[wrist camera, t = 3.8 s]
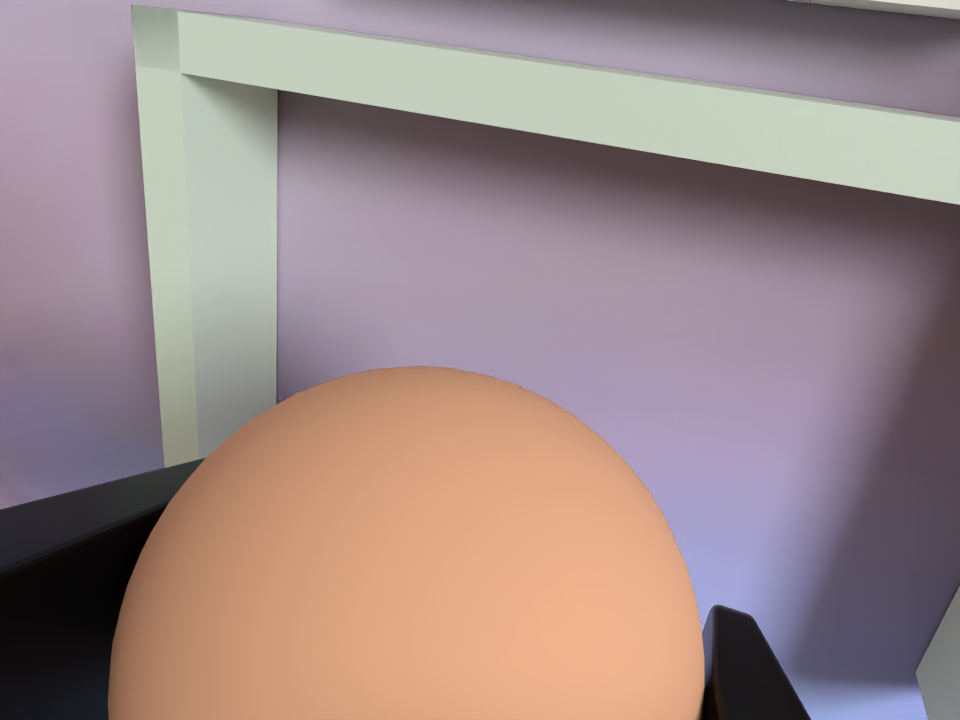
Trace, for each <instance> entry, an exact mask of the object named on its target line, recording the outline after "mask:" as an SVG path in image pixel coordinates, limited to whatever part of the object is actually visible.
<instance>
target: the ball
mask: <svg viewBox="0 0 960 720" xmlns="http://www.w3.org/2000/svg"><path fill="white" fill-rule="evenodd" d="M704 688H705V672H704V648H703V639H702V630H701V622H700V617H699V613H698V608H697V603H696V598H695V594H694V591H693V587H692V583H691V580H690V576H689V572H688V569H687V566H686V563H685V561H684V559H683V557H682V554H681V552H680V550H679V547H678V545H677V543H676V540H675V538H674V536H673V534H672V531H671V529H670V527H669V525H668V523H667V520H666V518H665V517H664V515H663V513H662V512H661V510H660V508H659V507H658V505H657V503H656V502H655V500H654V498H653V497H652V495H651V493H650V492H649V490H648V489H647V488H646V486H645V485H644V484H643V483H642V481H641V480H640V479H639V478H638V476H637V475H636V474H635V473H634V471H633V470H632V469H631V467H630V466H629V465H628V464H627V463H626V462H625V461H624V459H623V458H622V457H621V456H620V455H619V454H618V453H617V452H616V451H615V450H614V449H613V448H612V447H611V446H610V445H609V444H608V443H607V442H606V441H605V440H604V439H603V438H602V437H601V436H600V435H599V434H597V433H596V432H595V431H593V430H592V429H591V428H590V427H588V426H587V425H586V424H585V423H583V422H582V421H581V420H579V419H578V418H577V417H576V416H574V415H573V414H571V413H570V412H568V411H566V410H565V409H563V408H561V407H560V406H558V405H557V404H555V403H553V402H552V401H550V400H548V399H547V398H544V397H542V396H540V395H538V394H536V393H534V392H531V391H529V390H527V389H525V388H523V387H521V386H518V385H515V384H512V383H509V382H506V381H503V380H500V379H497V378H494V377H491V376H487V375H483V374H478V373H473V372H468V371H463V370H458V369H453V368H442V367H428V366H414V367H398V368H386V369H375V370H370V371H365V372H360V373H355V374H351V375H346V376H343V377H340V378H337V379H334V380H331V381H328V382H325V383H322V384H319V385H317V386H314V387H312V388H309V389H306V390H304V391H301V392H298V393H296V394H294V395H293V396H291V397H289V398H287V399H286V400H284V401H282V402H280V403H279V404H277V405H275V406H273V407H272V408H270V409H268V410H267V411H265V412H263V413H262V414H260V415H258V416H256V417H255V418H253V419H251V420H250V421H248V422H247V423H246V424H245V425H244V426H242V427H241V428H240V429H239V430H238V431H236V432H235V433H234V434H233V435H232V436H230V437H229V438H228V439H227V440H226V441H225V442H223V443H222V444H221V445H220V446H219V447H218V448H217V449H215V450H214V451H213V452H212V453H211V454H210V455H208V456H207V457H206V458H205V459H204V461H203V462H202V463H201V464H200V465H199V466H198V468H197V469H196V470H195V471H194V472H193V473H192V475H191V476H190V477H189V478H188V479H187V481H186V482H185V483H184V484H183V485H182V487H181V488H180V489H179V491H178V492H177V493H176V494H175V496H174V497H173V498H172V499H171V501H170V502H169V504H168V505H167V507H166V509H165V510H164V512H163V514H162V515H161V517H160V518H159V520H158V522H157V523H156V525H155V527H154V528H153V530H152V532H151V534H150V536H149V538H148V540H147V541H146V543H145V545H144V547H143V549H142V551H141V553H140V556H139V558H138V561H137V563H136V566H135V568H134V570H133V573H132V575H131V578H130V580H129V583H128V585H127V588H126V592H125V595H124V599H123V602H122V605H121V609H120V613H119V618H118V622H117V626H116V630H115V635H114V639H113V643H112V653H111V662H110V675H109V690H108V716H109V720H702V718H703V704H704Z"/></svg>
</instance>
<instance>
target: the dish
mask: <svg viewBox="0 0 960 720" xmlns="http://www.w3.org/2000/svg"><path fill="white" fill-rule="evenodd" d="M787 1H796V2H805V3H814V4H824V5H833V6H842V7H851V8H861V9H870V10H879V11H888V12H897V13H907V14H916V15H925V16H934V17H943V18H953V19H960V0H787Z"/></svg>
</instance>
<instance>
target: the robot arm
mask: <svg viewBox="0 0 960 720" xmlns="http://www.w3.org/2000/svg"><path fill="white" fill-rule="evenodd" d="M204 459H205V458H202V459H198V460H194V461H190V462H186V463H182V464H178V465H174V466H170V467H166V468H162V469H158V470H154V471H150V472H147V473H143V474H139V475H135V476H131V477H127V478H123V479H119V480H115V481H111V482H107V483H103V484H99V485H95V486H91V487H87V488H83V489H80V490H76V491H72V492H68V493H64V494H60V495H56V496H52V497H48V498H44V499H40V500H36V501H32V502H28V503H24V504H20V505H16V506H13V507H9V508H5V509H1V510H0V720H109V716H108V690H109V675H110V662H111V653H112V643H113V639H114V635H115V630H116V626H117V622H118V618H119V613H120V609H121V605H122V602H123V599H124V595H125V592H126V588H127V585H128V583H129V580H130V578H131V575H132V573H133V570H134V568H135V566H136V563H137V561H138V558H139V556H140V553H141V551H142V549H143V547H144V545H145V543H146V541H147V540H148V538H149V536H150V534H151V532H152V530H153V528H154V527H155V525H156V523H157V522H158V520H159V518H160V517H161V515H162V514H163V512H164V510H165V509H166V507H167V505H168V504H169V502H170V501H171V499H172V498H173V497H174V496H175V494H176V493H177V492H178V491H179V489H180V488H181V487H182V485H183V484H184V483H185V482H186V481H187V479H188V478H189V477H190V476H191V475H192V473H193V472H194V471H195V470H196V469H197V468H198V466H199V465H200V464H201V463H202V462H203V461H204ZM702 639H703V648H704V672H705V688H704V704H703V718H702V720H811V718H810V717H809V715H808V713H807V711H806V710H805V708H804V706H803V704H802V703H801V701H800V699H799V697H798V696H797V694H796V692H795V690H794V688H793V687H792V685H791V683H790V681H789V680H788V678H787V676H786V674H785V673H784V671H783V669H782V667H781V666H780V664H779V662H778V660H777V659H776V657H775V655H774V653H773V651H772V650H771V648H770V646H769V644H768V643H767V641H766V639H765V637H764V636H763V634H762V632H761V630H760V629H759V627H758V625H757V623H756V621H755V620H754V619H753V618H752V617H751V616H750V615H749V614H747V613H744V612H740V611H737V610H734V609H731V608H728V607H725V606H722V605H714V606H713V607H712V608H711V610H710V612H709V615H708V618H707V621H706V624H705V627H704V630H703V633H702Z"/></svg>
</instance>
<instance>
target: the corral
mask: <svg viewBox="0 0 960 720" xmlns="http://www.w3.org/2000/svg"><path fill="white" fill-rule="evenodd" d="M131 14H132V28H133V41H134V55H135V69H136V83H137V97H138V111H139V124H140V138H141V152H142V166H143V180H144V193H145V207H146V221H147V235H148V249H149V263H150V276H151V290H152V304H153V318H154V332H155V346H156V359H157V373H158V387H159V401H160V415H161V428H162V442H163V456H164V468H166V467H170V466H174V465H178V464H182V463H186V462H190V461H194V460H198V459H202V458H206V457H207V456H208V455H210V454H211V453H212V452H213V451H214V450H215V449H217V448H218V447H219V446H220V445H221V444H222V443H223V442H225V441H226V440H227V439H228V438H229V437H230V436H232V435H233V434H234V433H235V432H236V431H238V430H239V429H240V428H241V427H242V426H244V425H245V424H246V423H247V422H248V421H250V420H251V419H253V418H255V417H256V416H258V415H260V414H262V413H263V412H265V411H267V410H268V409H270V408H272V407H273V406H275V405H276V365H277V123H278V89H279V90H285V91H291V92H297V93H302V94H308V95H314V96H320V97H326V98H332V99H338V100H344V101H350V102H356V103H362V104H367V105H373V106H379V107H385V108H391V109H397V110H403V111H409V112H415V113H421V114H427V115H432V116H438V117H444V118H450V119H456V120H462V121H468V122H474V123H480V124H486V125H492V126H497V127H503V128H509V129H515V130H521V131H527V132H533V133H539V134H545V135H551V136H557V137H562V138H568V139H574V140H580V141H586V142H592V143H598V144H604V145H610V146H616V147H622V148H627V149H633V150H639V151H645V152H651V153H657V154H663V155H669V156H675V157H681V158H687V159H692V160H698V161H704V162H710V163H716V164H722V165H728V166H734V167H740V168H746V169H752V170H757V171H763V172H769V173H775V174H781V175H787V176H793V177H799V178H805V179H811V180H817V181H822V182H828V183H834V184H840V185H846V186H852V187H858V188H864V189H870V190H876V191H882V192H887V193H893V194H899V195H905V196H911V197H917V198H923V199H929V200H935V201H941V202H947V203H952V204H958V205H960V117H954V116H947V115H940V114H933V113H926V112H919V111H912V110H905V109H898V108H890V107H883V106H876V105H869V104H862V103H855V102H848V101H841V100H834V99H826V98H819V97H812V96H805V95H798V94H791V93H784V92H777V91H769V90H762V89H755V88H748V87H741V86H734V85H727V84H720V83H713V82H705V81H698V80H691V79H684V78H677V77H670V76H663V75H656V74H649V73H641V72H634V71H627V70H620V69H613V68H606V67H599V66H592V65H585V64H577V63H570V62H563V61H556V60H549V59H542V58H535V57H528V56H521V55H513V54H506V53H499V52H492V51H485V50H478V49H471V48H464V47H457V46H449V45H442V44H435V43H428V42H421V41H414V40H407V39H400V38H393V37H385V36H378V35H371V34H364V33H357V32H350V31H343V30H336V29H329V28H321V27H314V26H307V25H300V24H293V23H286V22H279V21H272V20H265V19H257V18H250V17H243V16H236V15H226V14H216V13H207V12H197V11H187V10H178V9H168V8H158V7H149V6H139V5H131ZM915 673H916V677H917V680H918V684H919V688H920V692H921V695H922V699H923V703H924V707H925V710H926V714H927V718H928V720H960V586H959V588H958V590H957V592H956V594H955V596H954V598H953V600H952V602H951V604H950V606H949V607H948V609H947V611H946V613H945V615H944V617H943V619H942V621H941V623H940V625H939V627H938V629H937V631H936V633H935V635H934V637H933V639H932V641H931V643H930V644H929V646H928V648H927V650H926V652H925V654H924V656H923V658H922V660H921V662H920V664H919V666H918V668H917V670H916V672H915Z"/></svg>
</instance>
